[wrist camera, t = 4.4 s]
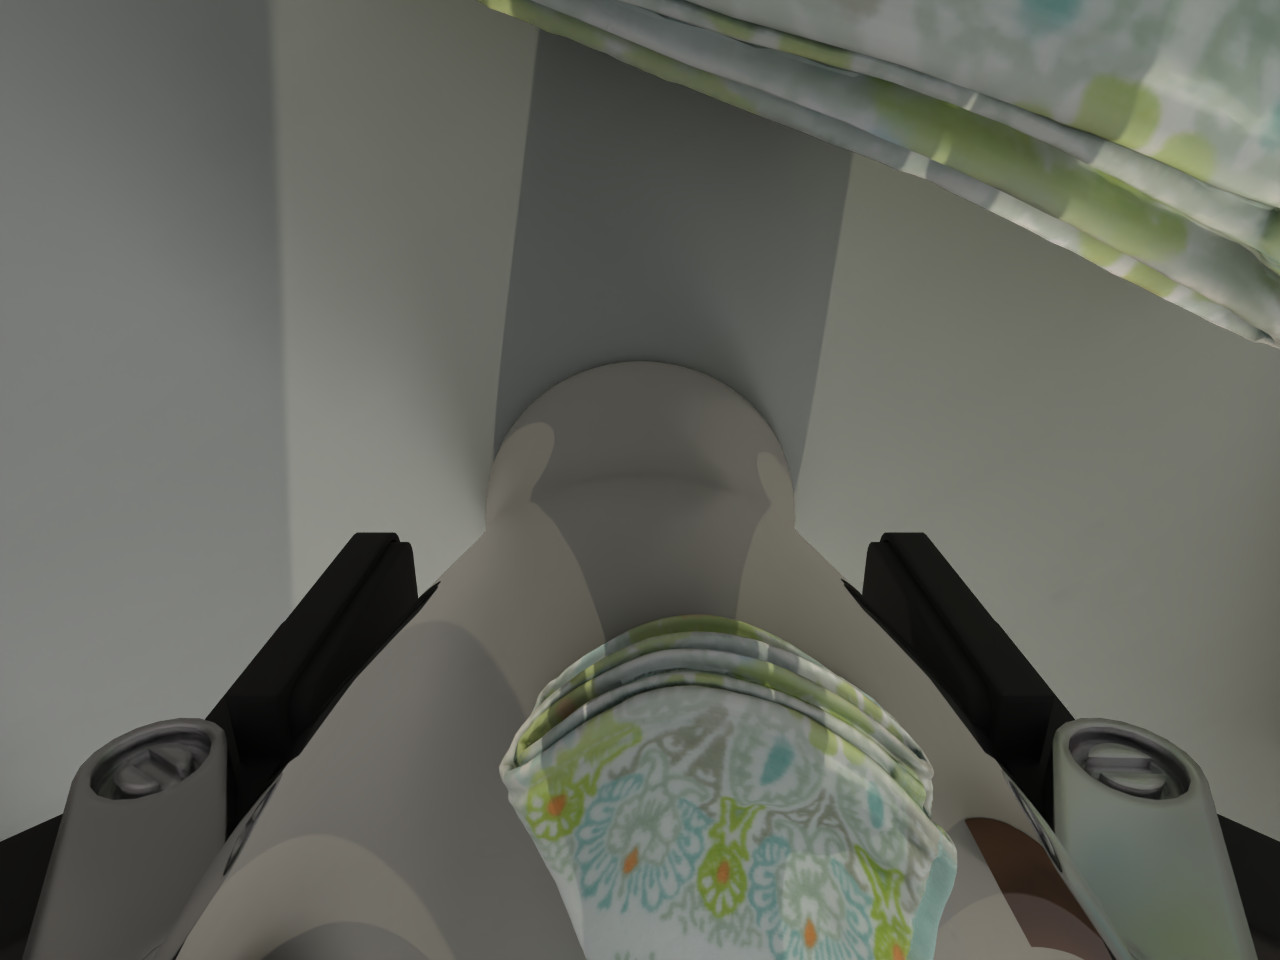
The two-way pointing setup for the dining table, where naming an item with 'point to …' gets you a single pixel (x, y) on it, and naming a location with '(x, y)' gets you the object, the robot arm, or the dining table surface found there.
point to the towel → (1016, 114)
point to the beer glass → (642, 739)
